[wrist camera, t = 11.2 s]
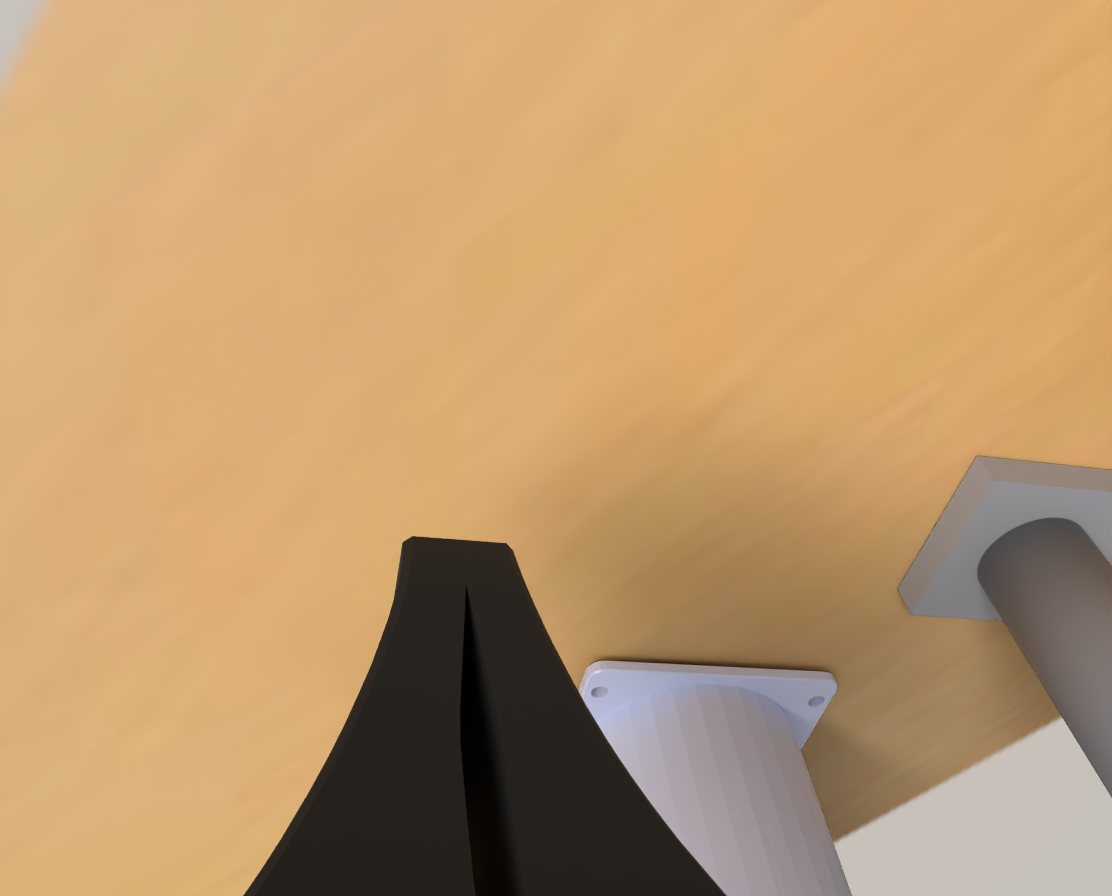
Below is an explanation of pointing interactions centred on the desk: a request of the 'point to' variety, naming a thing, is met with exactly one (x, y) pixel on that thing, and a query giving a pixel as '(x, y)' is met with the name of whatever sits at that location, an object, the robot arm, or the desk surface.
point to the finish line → (1033, 580)
